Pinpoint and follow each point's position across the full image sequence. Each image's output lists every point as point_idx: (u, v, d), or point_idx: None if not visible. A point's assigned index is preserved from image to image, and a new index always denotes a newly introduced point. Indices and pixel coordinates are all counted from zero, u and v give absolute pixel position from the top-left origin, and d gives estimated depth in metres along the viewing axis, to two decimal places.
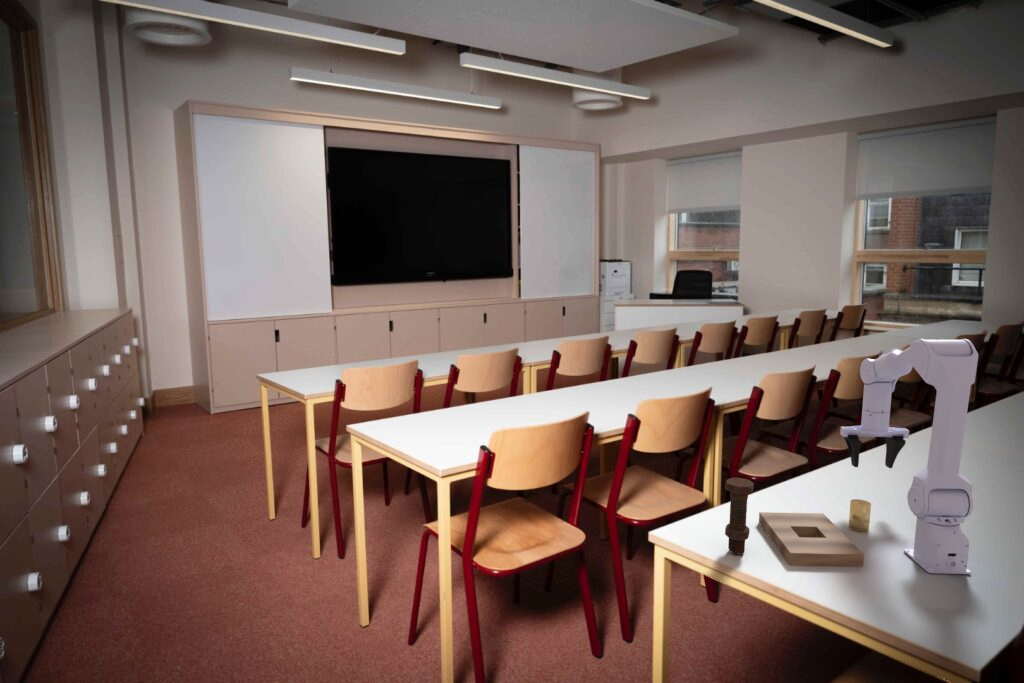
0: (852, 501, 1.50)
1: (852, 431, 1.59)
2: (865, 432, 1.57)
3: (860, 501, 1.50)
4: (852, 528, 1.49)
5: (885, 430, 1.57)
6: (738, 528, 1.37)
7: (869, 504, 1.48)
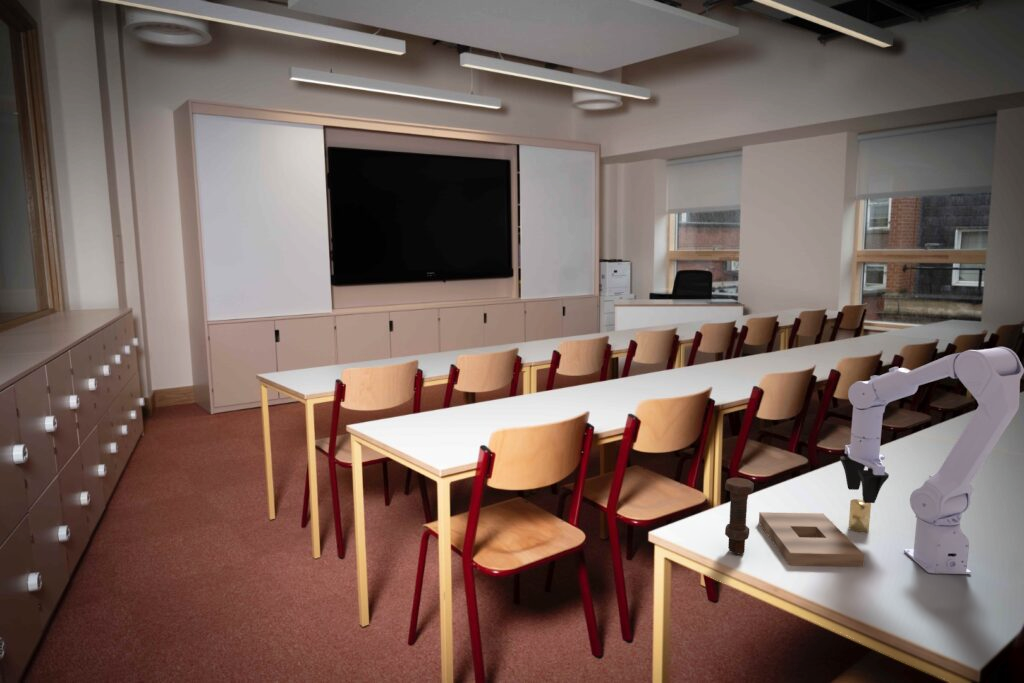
0: (852, 501, 1.50)
1: (847, 449, 1.53)
2: (847, 452, 1.51)
3: (860, 501, 1.50)
4: (852, 528, 1.49)
5: (855, 455, 1.46)
6: (738, 528, 1.37)
7: (869, 504, 1.48)
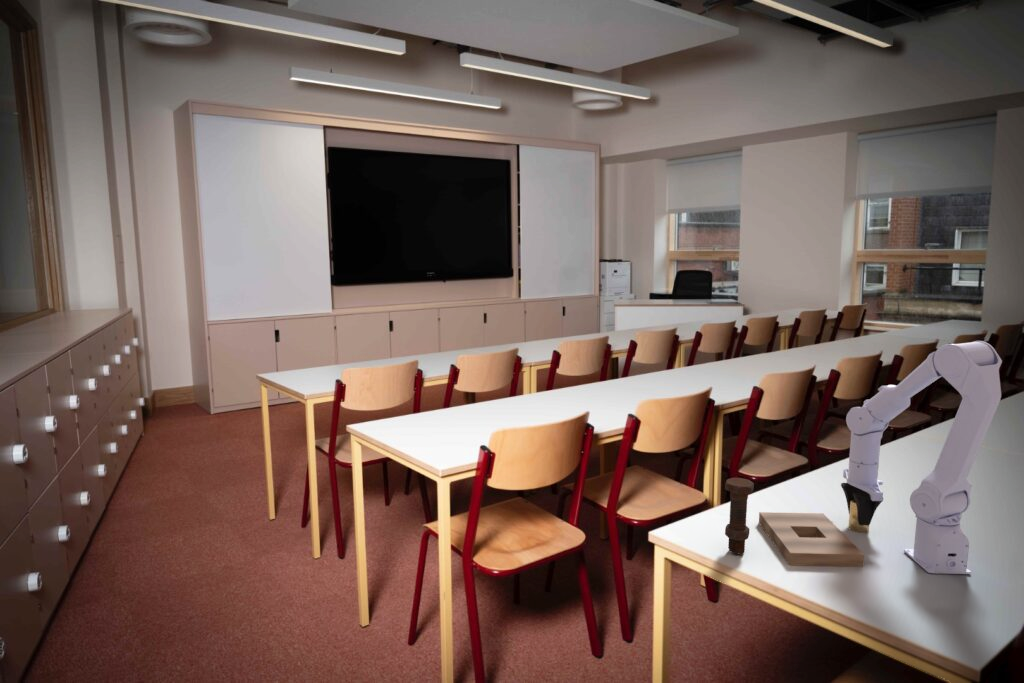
0: (852, 501, 1.50)
1: (845, 473, 1.54)
2: (846, 477, 1.52)
3: None
4: (852, 528, 1.49)
5: (853, 480, 1.47)
6: (738, 528, 1.37)
7: None
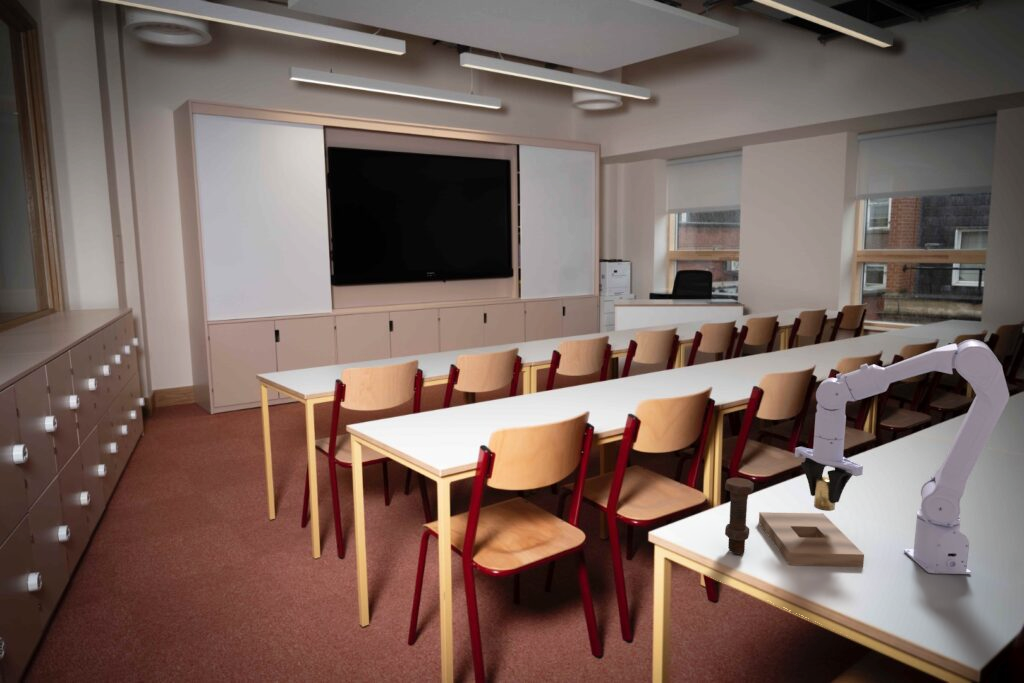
0: (819, 480, 1.43)
1: (801, 452, 1.47)
2: (808, 456, 1.44)
3: (824, 478, 1.44)
4: (823, 508, 1.42)
5: (825, 458, 1.40)
6: (738, 528, 1.37)
7: None
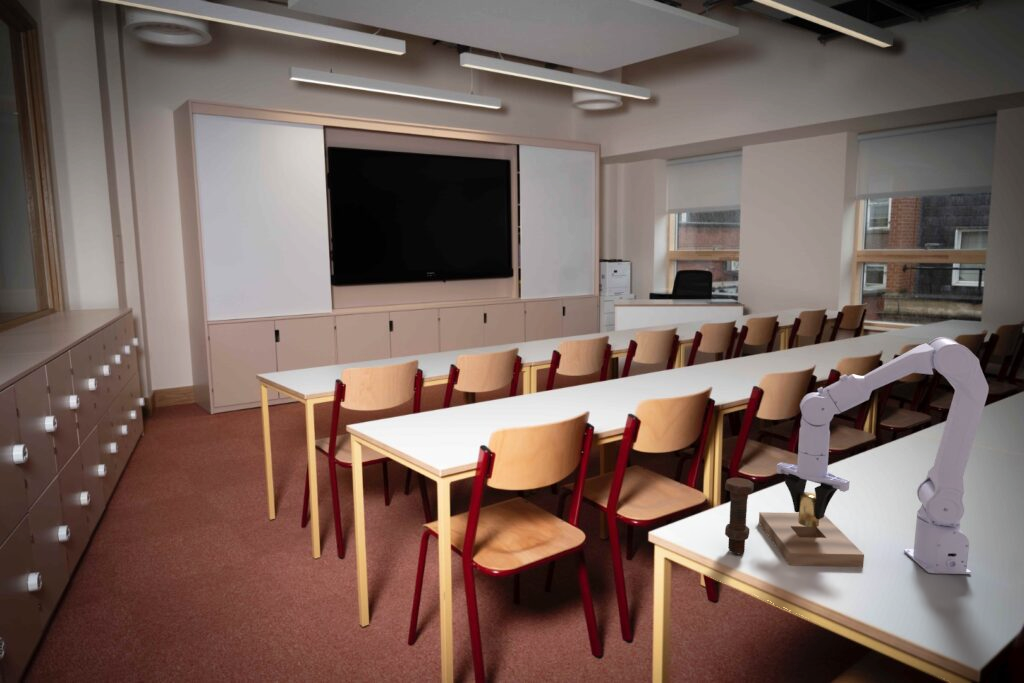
0: (804, 496, 1.41)
1: (784, 468, 1.44)
2: (793, 472, 1.42)
3: (807, 494, 1.42)
4: (808, 524, 1.41)
5: (812, 475, 1.38)
6: (738, 528, 1.37)
7: None
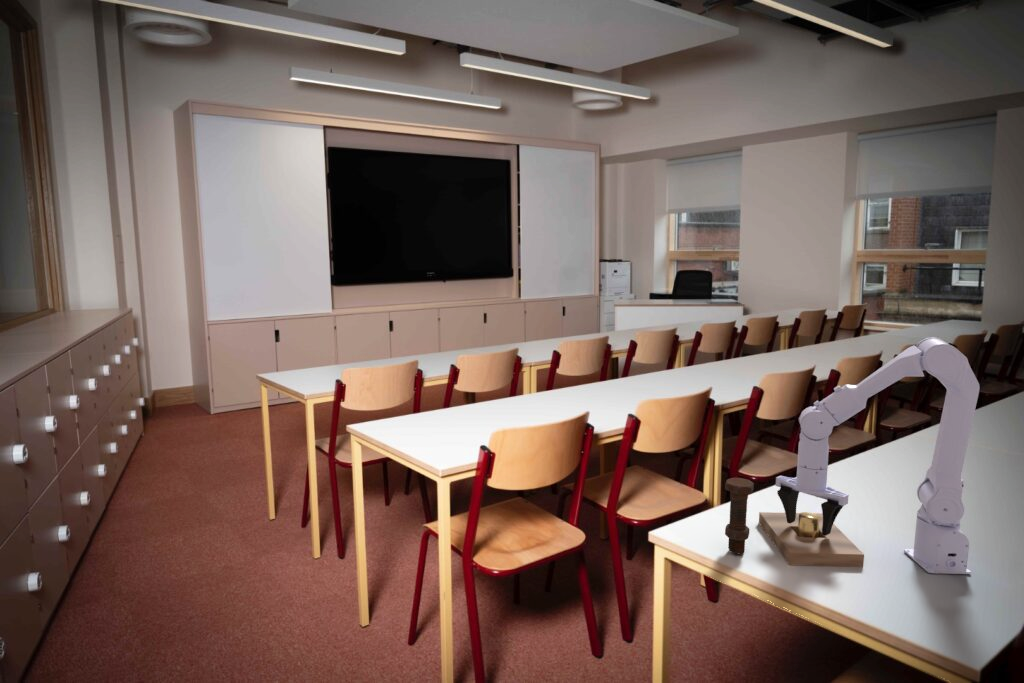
0: (802, 517, 1.42)
1: (783, 482, 1.45)
2: (792, 486, 1.42)
3: (806, 514, 1.43)
4: None
5: (811, 489, 1.39)
6: (738, 528, 1.37)
7: (817, 515, 1.42)
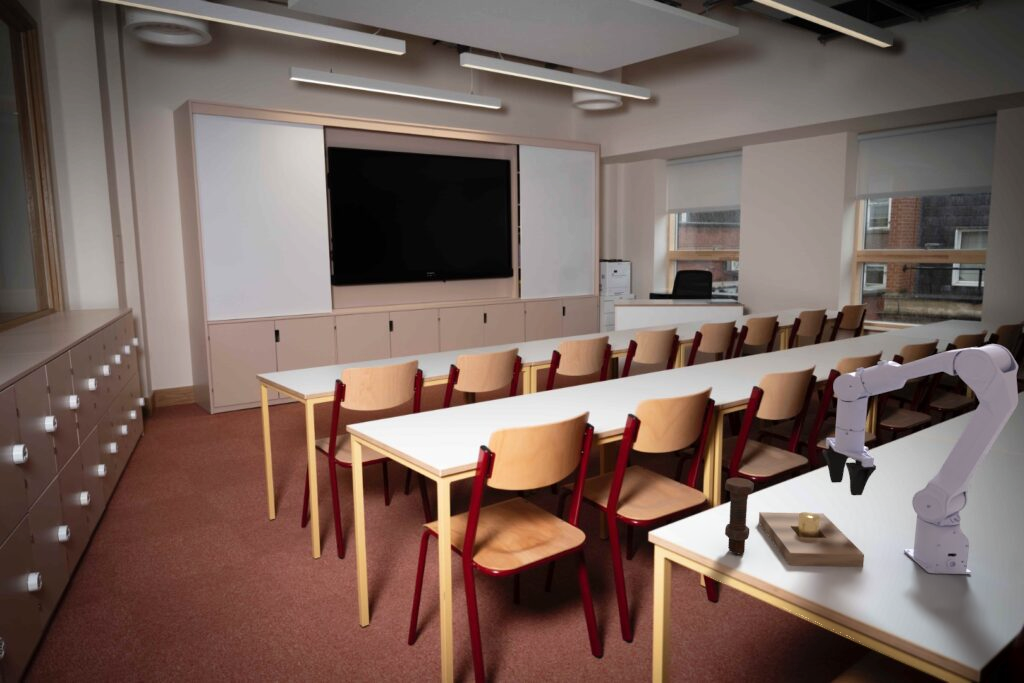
0: (802, 517, 1.42)
1: (829, 442, 1.52)
2: (831, 445, 1.50)
3: (806, 514, 1.43)
4: None
5: (841, 448, 1.46)
6: (738, 528, 1.37)
7: (817, 515, 1.42)
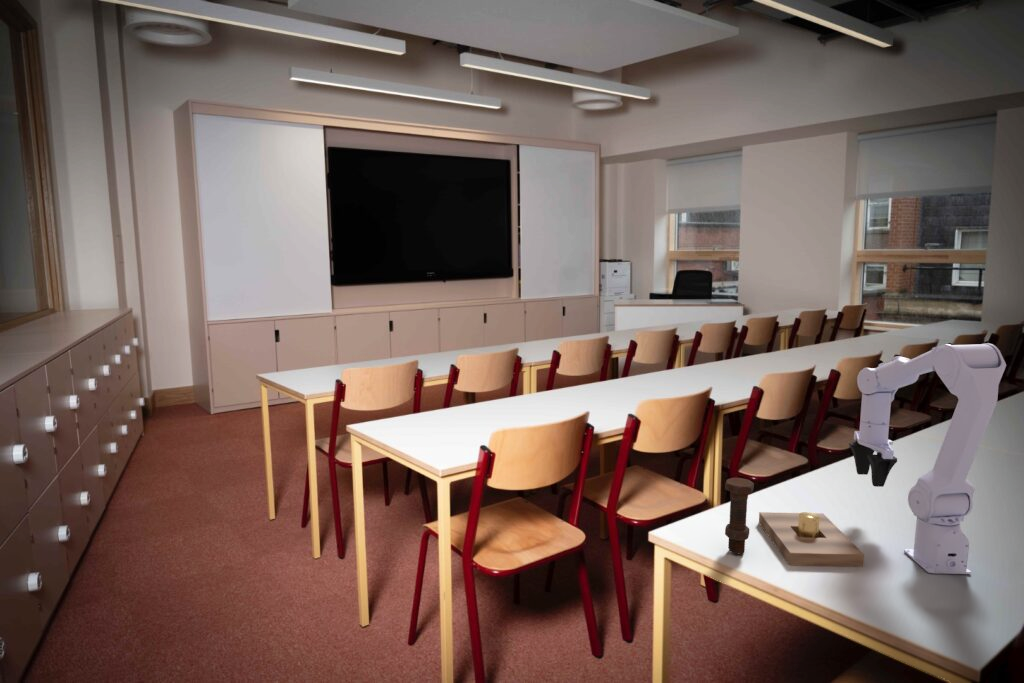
0: (802, 517, 1.42)
1: (856, 435, 1.58)
2: (857, 438, 1.55)
3: (806, 514, 1.43)
4: None
5: (864, 440, 1.51)
6: (738, 528, 1.37)
7: (817, 515, 1.42)
